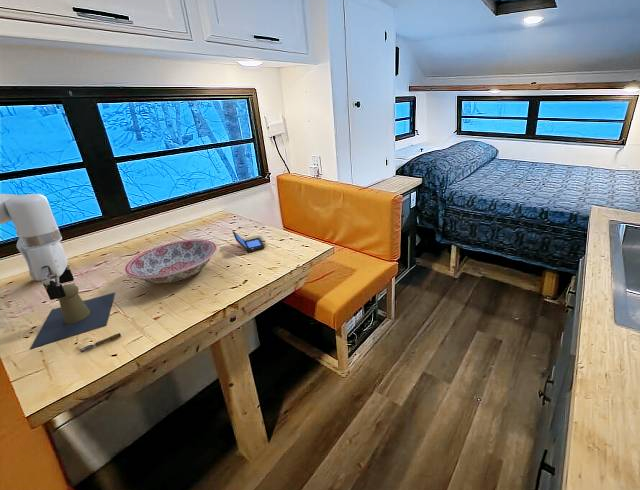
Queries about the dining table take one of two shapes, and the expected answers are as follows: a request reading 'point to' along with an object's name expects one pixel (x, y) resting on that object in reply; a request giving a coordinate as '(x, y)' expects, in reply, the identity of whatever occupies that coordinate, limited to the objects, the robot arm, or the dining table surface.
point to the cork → (73, 305)
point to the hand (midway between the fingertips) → (63, 289)
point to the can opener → (102, 341)
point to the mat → (60, 330)
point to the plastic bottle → (26, 257)
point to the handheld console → (249, 243)
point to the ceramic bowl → (171, 261)
